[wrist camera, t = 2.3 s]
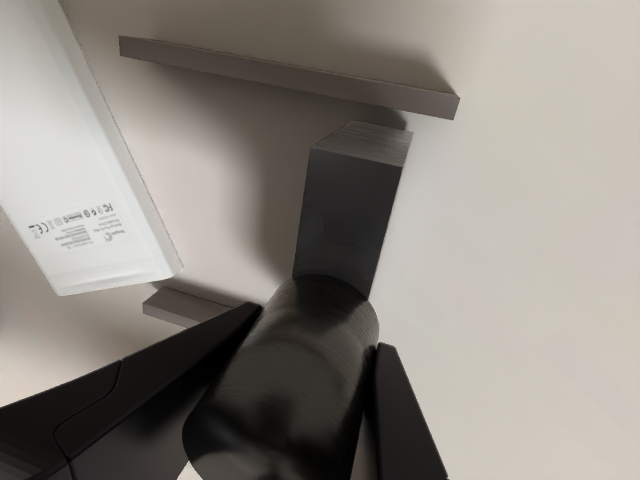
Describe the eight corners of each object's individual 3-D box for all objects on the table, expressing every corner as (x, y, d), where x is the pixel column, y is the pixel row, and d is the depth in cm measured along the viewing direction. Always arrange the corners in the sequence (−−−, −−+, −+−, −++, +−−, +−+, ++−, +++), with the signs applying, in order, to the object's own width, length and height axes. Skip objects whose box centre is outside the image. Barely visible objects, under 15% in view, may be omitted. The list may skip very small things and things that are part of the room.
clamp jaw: (369, 343, 16) (307, 614, 8) (304, 323, 16) (186, 558, 8) (428, 135, 12) (425, 265, 4) (339, 117, 12) (173, 198, 4)
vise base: (374, 363, 17) (364, 418, 14) (-56, 226, 21) (-126, 247, 18) (456, 94, 11) (464, 101, 9) (-142, -14, 16) (-257, -32, 13)
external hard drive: (59, -25, 14) (191, 263, 18) (-60, 50, 17) (77, 283, 21) (15, -37, 12) (169, 280, 16) (-106, 48, 15) (51, 299, 19)
